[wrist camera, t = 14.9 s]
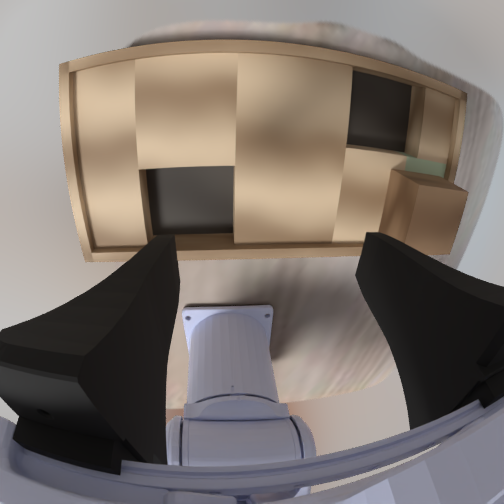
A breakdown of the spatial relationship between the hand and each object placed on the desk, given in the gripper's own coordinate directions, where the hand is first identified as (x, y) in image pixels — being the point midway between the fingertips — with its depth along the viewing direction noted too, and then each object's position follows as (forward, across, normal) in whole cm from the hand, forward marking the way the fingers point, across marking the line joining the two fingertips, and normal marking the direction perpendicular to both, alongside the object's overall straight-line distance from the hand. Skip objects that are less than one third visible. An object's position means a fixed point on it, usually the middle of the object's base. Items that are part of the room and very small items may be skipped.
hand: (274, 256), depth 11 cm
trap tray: (+10, -2, -2) cm, 11 cm away
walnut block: (+8, -12, +1) cm, 15 cm away
